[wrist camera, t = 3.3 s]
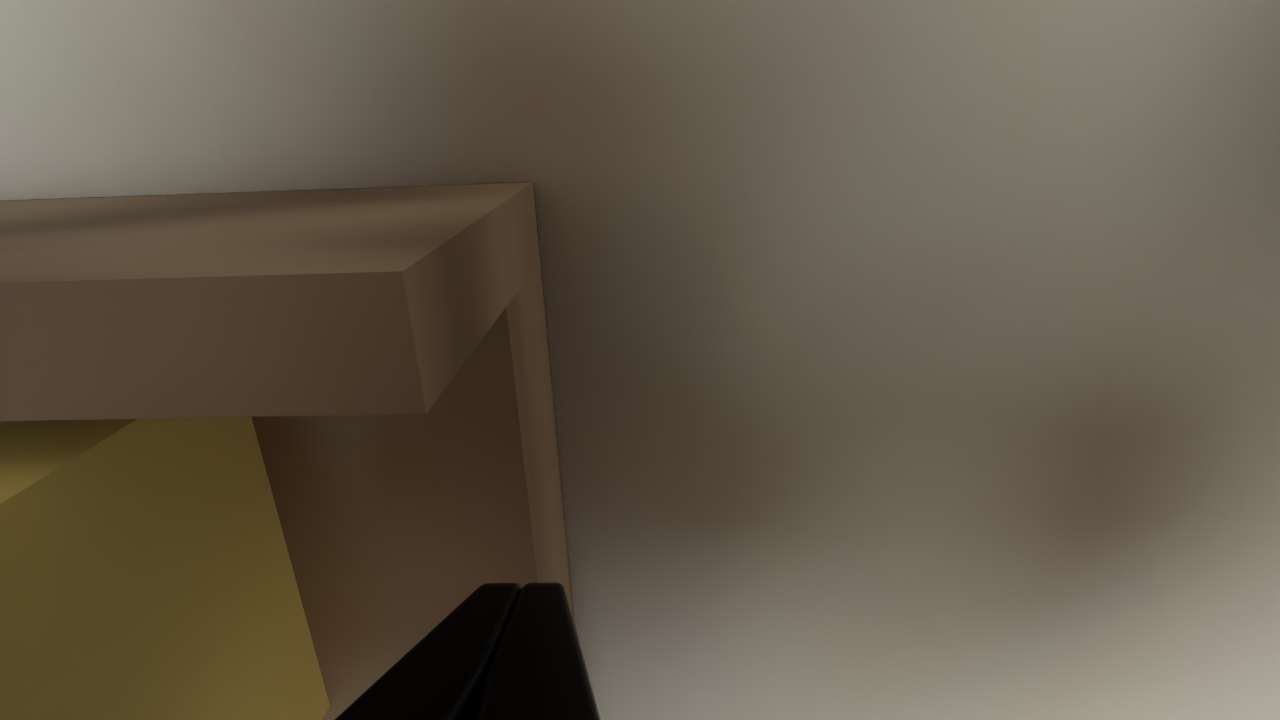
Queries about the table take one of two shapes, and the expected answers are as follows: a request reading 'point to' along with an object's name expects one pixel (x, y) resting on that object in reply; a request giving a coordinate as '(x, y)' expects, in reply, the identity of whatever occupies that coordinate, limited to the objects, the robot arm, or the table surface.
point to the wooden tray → (319, 378)
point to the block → (147, 576)
